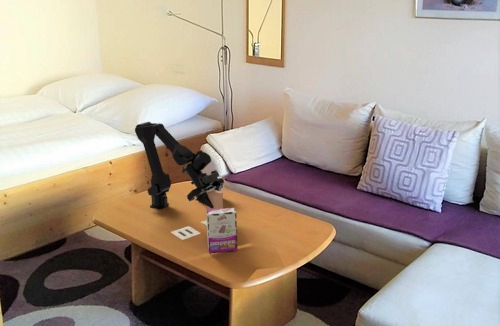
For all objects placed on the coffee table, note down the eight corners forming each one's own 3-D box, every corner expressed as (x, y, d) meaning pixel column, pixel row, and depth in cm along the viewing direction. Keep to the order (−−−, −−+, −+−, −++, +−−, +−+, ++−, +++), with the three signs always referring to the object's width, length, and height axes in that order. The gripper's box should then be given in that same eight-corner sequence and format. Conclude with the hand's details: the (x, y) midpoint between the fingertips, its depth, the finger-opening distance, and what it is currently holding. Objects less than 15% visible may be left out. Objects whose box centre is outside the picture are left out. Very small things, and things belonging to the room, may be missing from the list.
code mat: (184, 244, 216) (184, 243, 216) (164, 232, 227) (164, 230, 226) (236, 226, 232) (236, 224, 231) (214, 215, 243) (214, 213, 242)
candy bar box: (235, 245, 216) (234, 207, 210) (237, 251, 211) (237, 212, 206) (207, 247, 214) (205, 209, 208) (208, 254, 209) (207, 214, 204)
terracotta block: (206, 219, 233) (205, 193, 229) (214, 215, 236) (213, 189, 232) (215, 222, 230) (215, 195, 226) (223, 218, 234) (222, 192, 230)
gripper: (191, 171, 221) (212, 203, 218) (220, 160, 235) (241, 189, 232) (177, 185, 228) (198, 216, 225) (207, 173, 242) (227, 202, 239)
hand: (217, 205), depth 230 cm, fingers closed on terracotta block, 5 cm apart
